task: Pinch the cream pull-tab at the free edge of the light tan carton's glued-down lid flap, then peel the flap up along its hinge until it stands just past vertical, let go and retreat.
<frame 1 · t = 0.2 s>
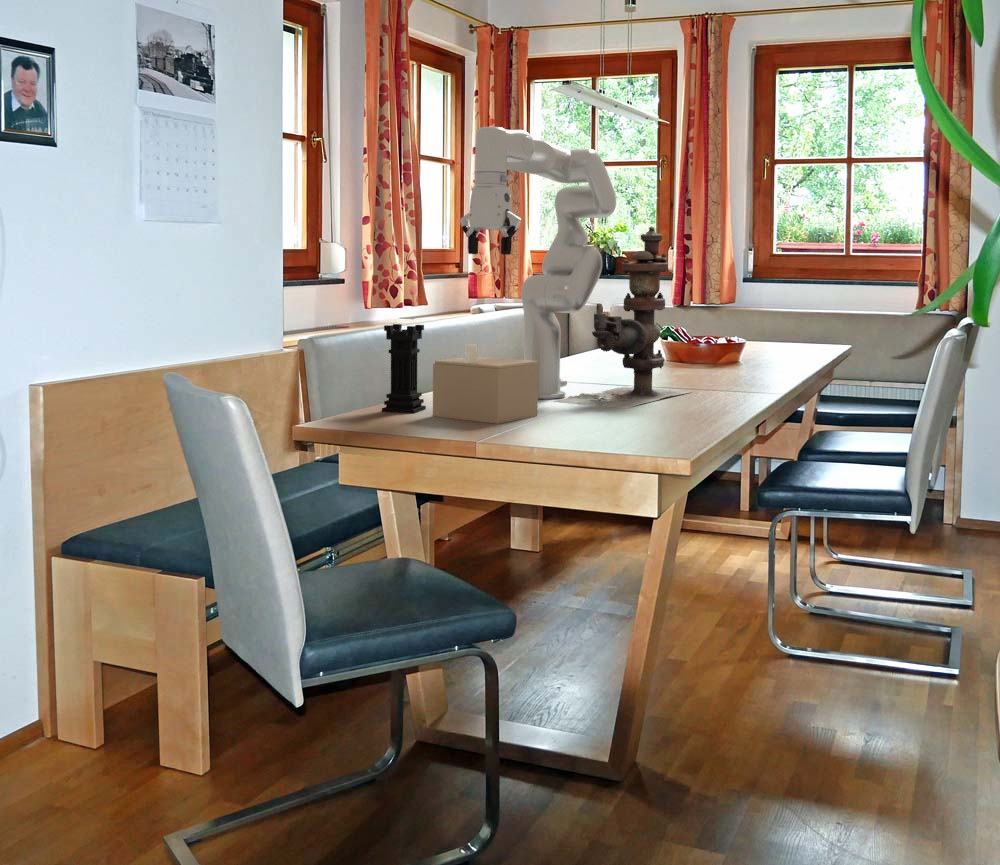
hand: (489, 254, 267), 37 cm above the table, tool pointing down, fingers open, 9 cm apart
carton: (485, 415, 255), on the table
chess piece: (404, 411, 263), on the table
lid flap: (486, 353, 253), point 14 cm above the table, hinge at 0.0°
valve: (625, 397, 295), on the table
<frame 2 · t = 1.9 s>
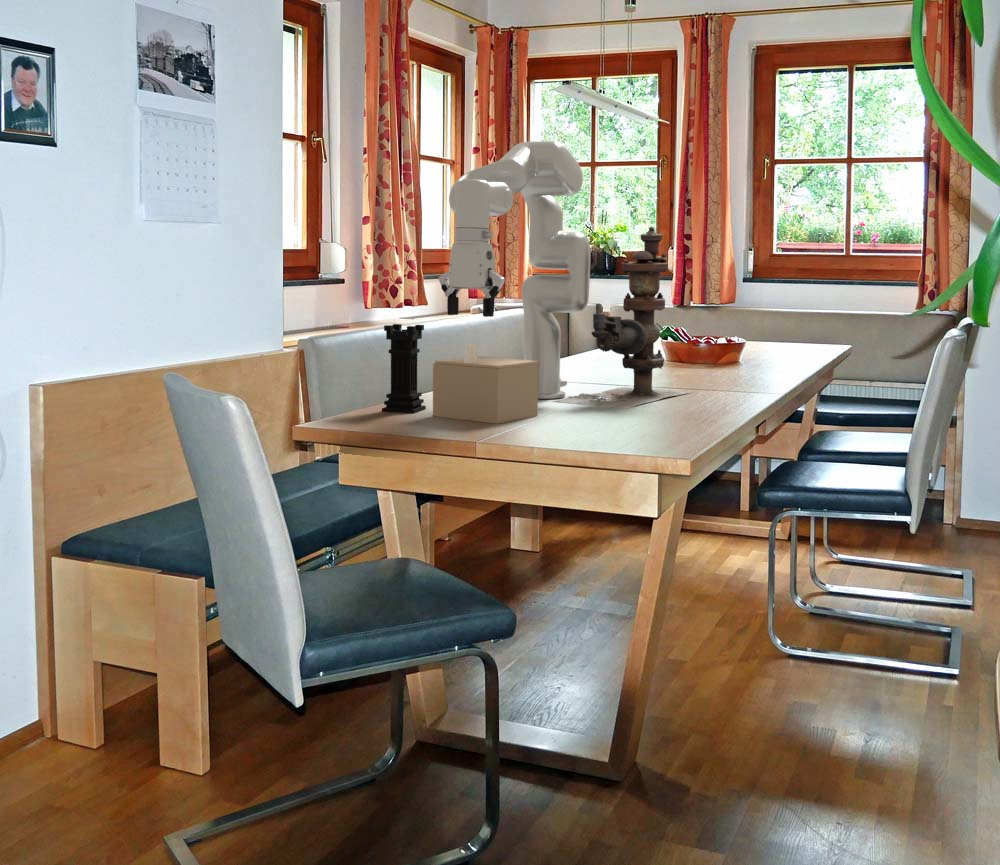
hand: (470, 315, 247), 23 cm above the table, tool pointing down, fingers open, 9 cm apart
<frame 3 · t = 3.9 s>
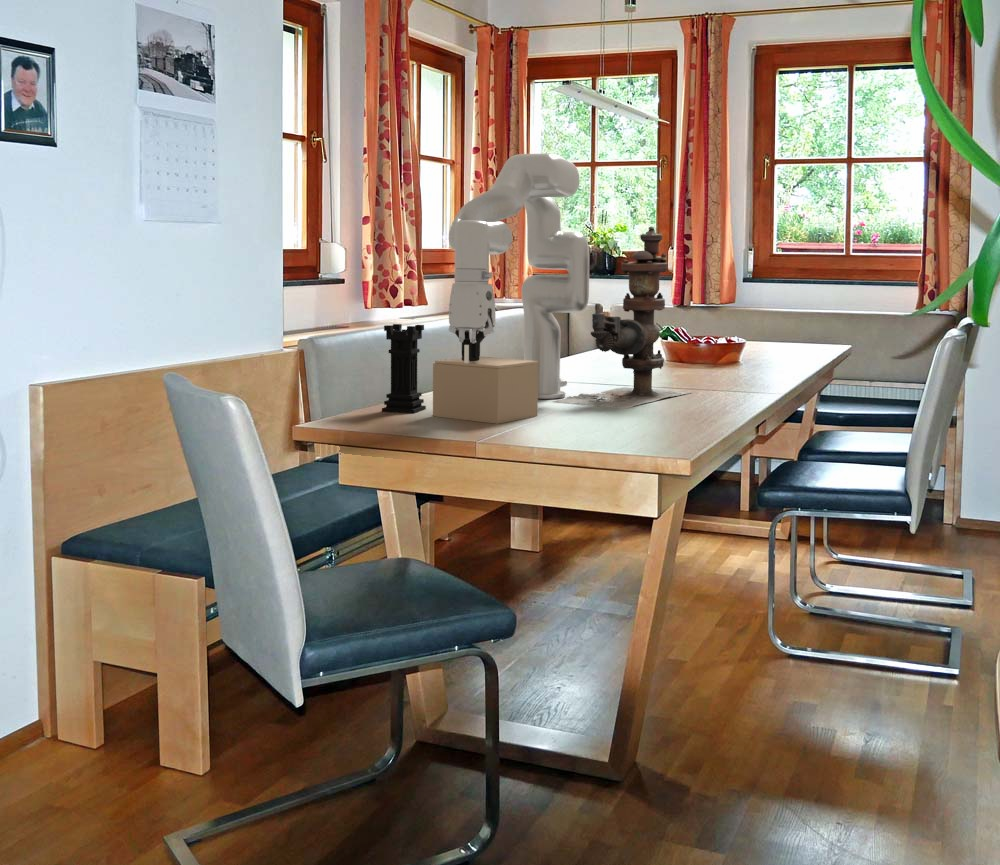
hand: (470, 360, 249), 13 cm above the table, tool pointing down, fingers closed
lid flap: (486, 353, 253), point 14 cm above the table, hinge at 0.0°, touching gripper
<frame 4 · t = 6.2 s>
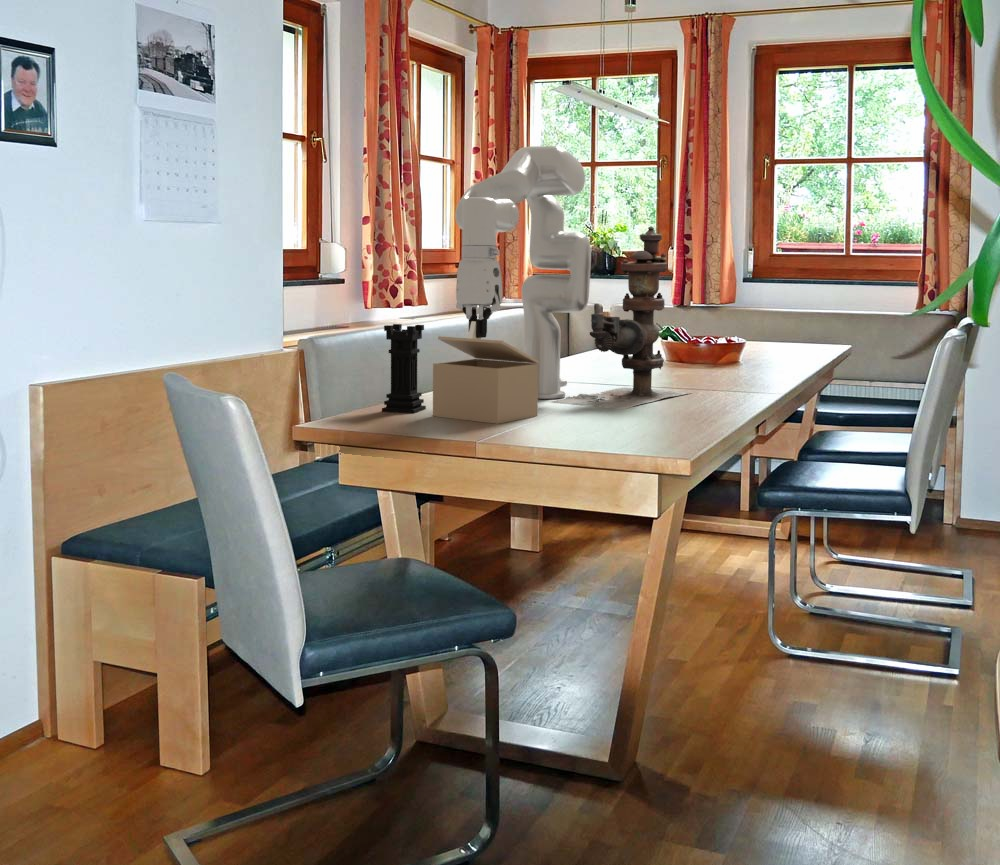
hand: (477, 336, 250), 18 cm above the table, tool pointing down, fingers closed
lid flap: (490, 341, 254), point 17 cm above the table, hinge at 20.1°, touching gripper
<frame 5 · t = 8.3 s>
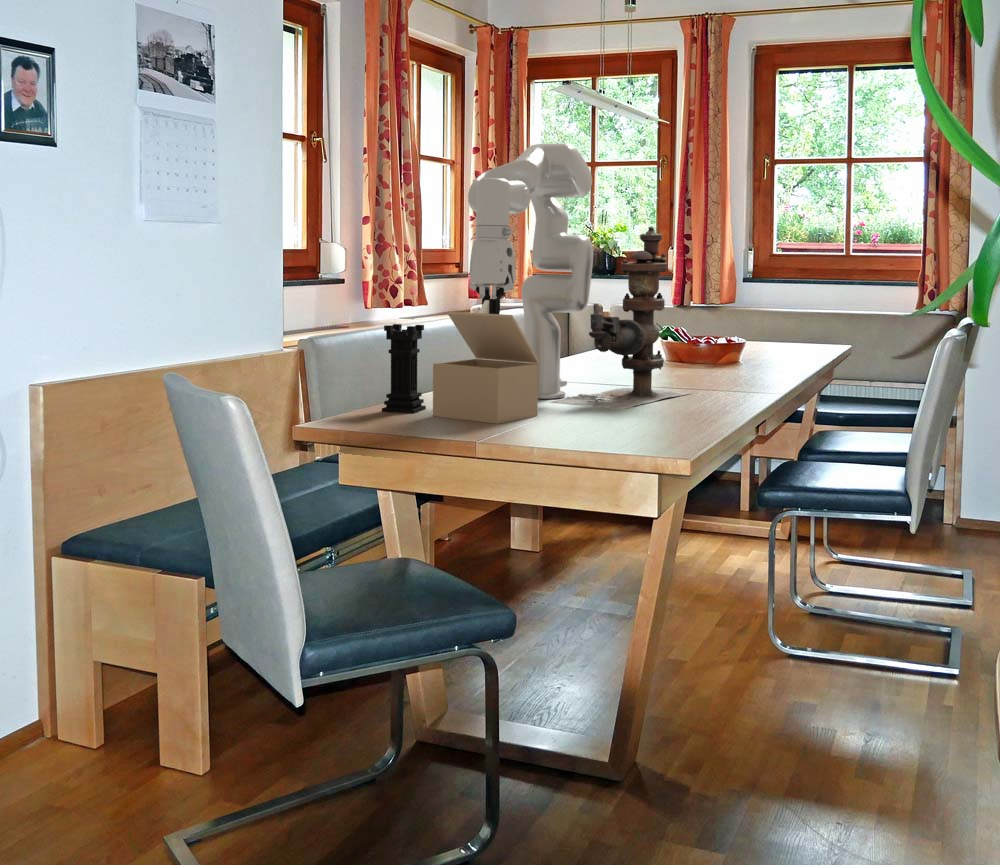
hand: (490, 316, 253), 23 cm above the table, tool pointing down, fingers closed
lid flap: (497, 330, 256), point 19 cm above the table, hinge at 44.1°, touching gripper
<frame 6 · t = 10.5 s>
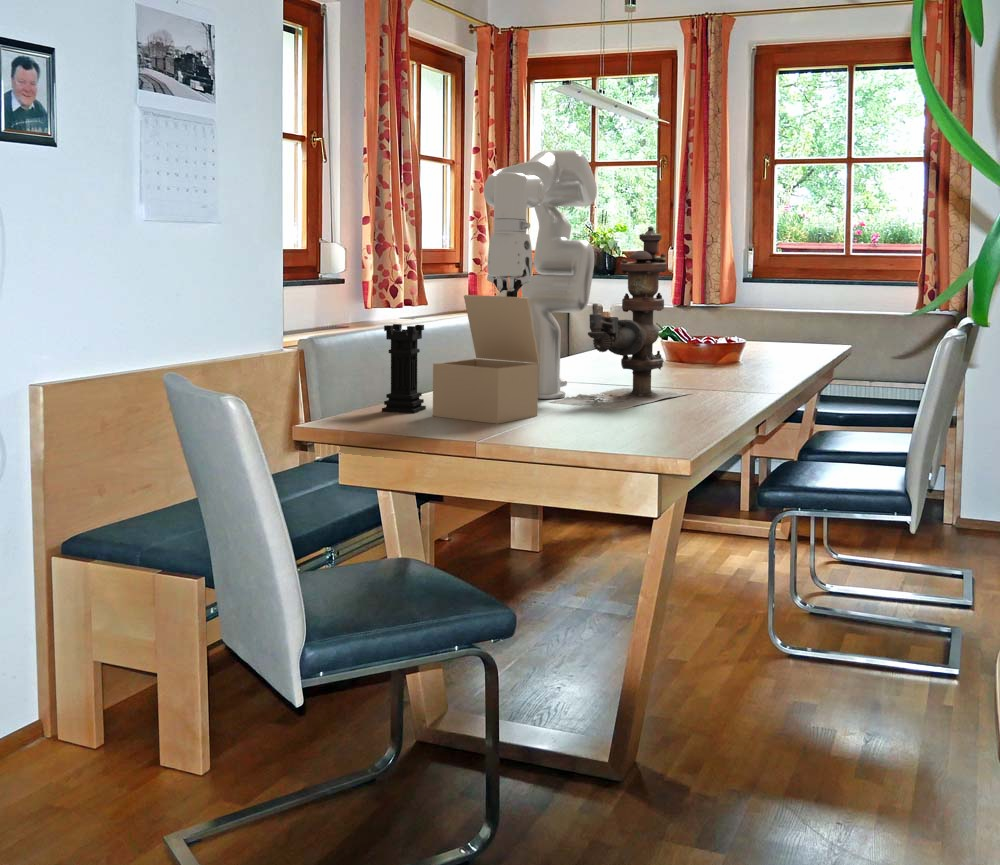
hand: (508, 308, 259), 24 cm above the table, tool pointing down, fingers closed
lid flap: (506, 325, 259), point 20 cm above the table, hinge at 70.6°, touching gripper
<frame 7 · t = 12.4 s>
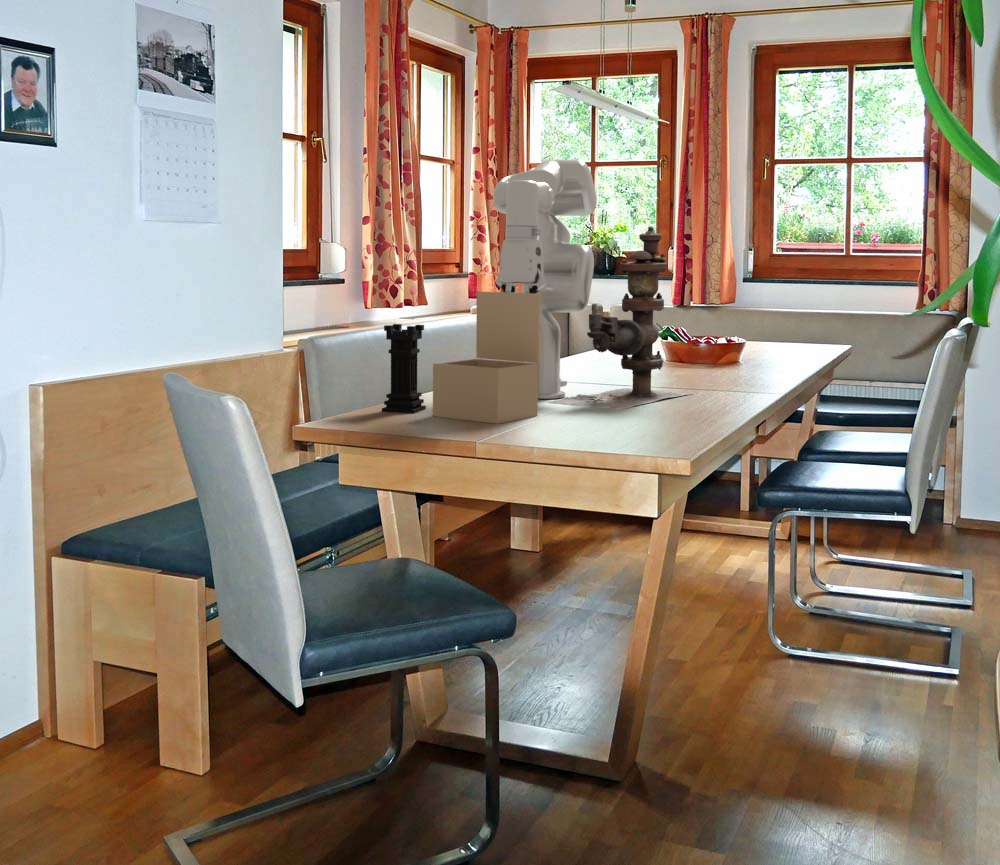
hand: (520, 312, 263), 23 cm above the table, tool pointing down, fingers open, 3 cm apart
lid flap: (512, 326, 261), point 20 cm above the table, hinge at 89.1°
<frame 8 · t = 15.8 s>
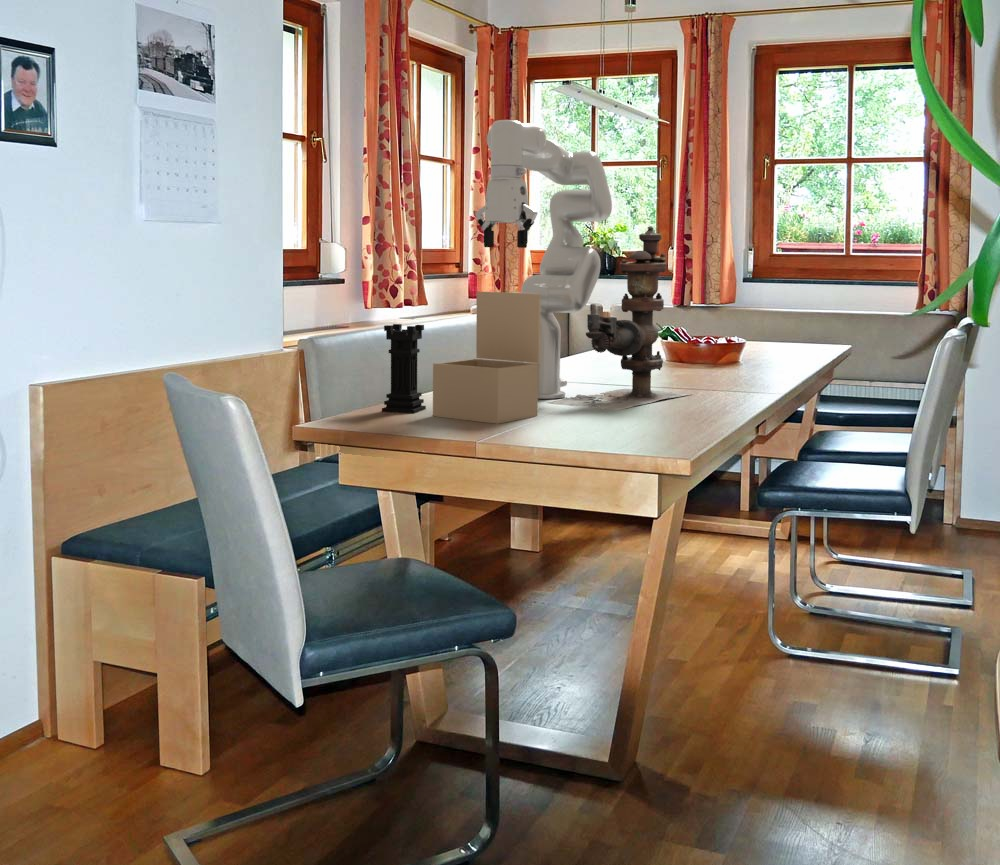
hand: (505, 247, 267), 38 cm above the table, tool pointing down, fingers open, 9 cm apart
at the end: lid flap at +89° (first picture: +0°); the gripper is holding nothing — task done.
